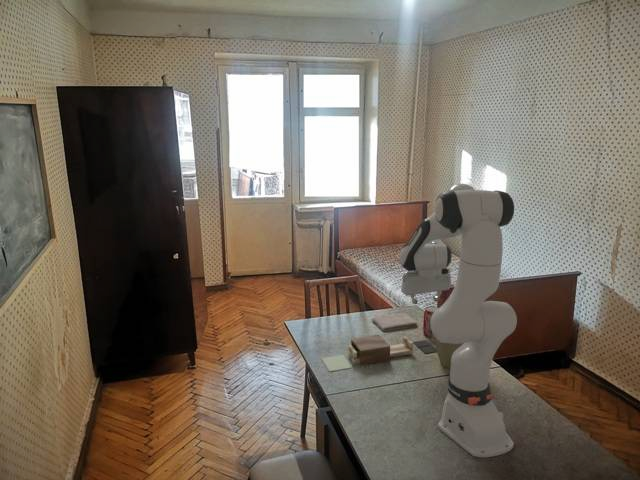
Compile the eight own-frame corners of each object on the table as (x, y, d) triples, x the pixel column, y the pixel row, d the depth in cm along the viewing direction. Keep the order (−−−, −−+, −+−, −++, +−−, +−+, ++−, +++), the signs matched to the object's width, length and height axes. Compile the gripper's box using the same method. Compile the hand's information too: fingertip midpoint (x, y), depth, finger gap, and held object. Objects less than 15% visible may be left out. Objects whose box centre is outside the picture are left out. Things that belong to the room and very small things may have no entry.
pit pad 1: (431, 345, 190) (431, 344, 190) (418, 347, 188) (418, 347, 188) (425, 340, 194) (425, 339, 194) (413, 342, 193) (413, 342, 192)
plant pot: (448, 350, 186) (450, 314, 182) (478, 366, 174) (482, 327, 170) (421, 361, 178) (423, 323, 174) (451, 378, 166) (454, 338, 162)
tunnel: (389, 361, 178) (390, 346, 176) (361, 366, 174) (361, 351, 173) (378, 349, 187) (378, 334, 186) (351, 353, 184) (351, 338, 182)
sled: (412, 353, 183) (413, 342, 182) (353, 363, 176) (354, 352, 175) (405, 346, 188) (405, 336, 187) (348, 356, 181) (348, 345, 180)
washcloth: (418, 327, 208) (419, 321, 207) (382, 333, 202) (383, 326, 202) (405, 317, 219) (406, 310, 218) (371, 322, 213) (371, 316, 212)
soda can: (441, 338, 196) (442, 312, 193) (424, 338, 196) (425, 312, 193) (437, 331, 203) (438, 305, 200) (421, 331, 203) (422, 305, 200)
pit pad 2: (438, 351, 185) (438, 350, 185) (425, 353, 183) (425, 353, 183) (432, 346, 189) (432, 345, 189) (419, 348, 187) (419, 348, 187)
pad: (352, 367, 174) (352, 367, 174) (329, 371, 171) (329, 371, 171) (343, 355, 183) (343, 354, 183) (321, 358, 180) (321, 358, 180)
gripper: (406, 274, 173) (405, 308, 177) (454, 269, 179) (451, 302, 182) (399, 269, 179) (397, 302, 182) (445, 264, 185) (443, 296, 188)
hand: (425, 302), depth 183 cm, fingers open, 8 cm apart
